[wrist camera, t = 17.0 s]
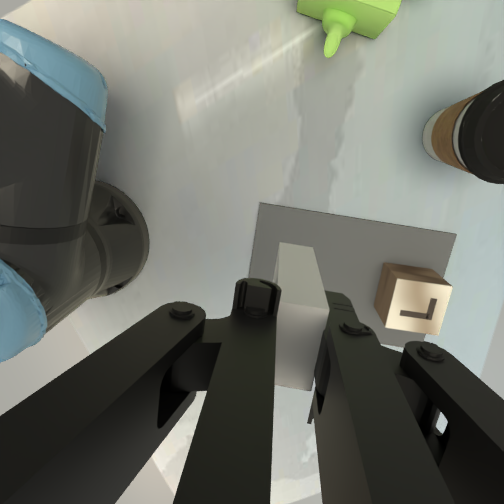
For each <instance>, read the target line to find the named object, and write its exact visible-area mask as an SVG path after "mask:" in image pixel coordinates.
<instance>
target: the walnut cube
mask: <svg viewBox="0 0 504 504" xmlns="http://www.w3.org/2000/svg"><path fill="white" fill-rule="evenodd" d="M452 288H453V286H451V285H450V284H449V283H448V282H447V281H446V280H444V279H443V278H442V277H441V276H440V275H439V274H438V273H436V272H435V271H434V270H433V269H428V268H421V267H414V266H407V265H400V264H393V263H386V262H384V264H383V268H382V272H381V276H380V281H379V285H378V289H377V293H376V298H375V302H374V308H375V310H376V311H377V313H378V315H379V317H380V319H381V321H382V323H383V324H384V326H385V328H391V329H398V330H405V331H411V332H418V333H425V334H431V335H439V332H440V328H441V325H442V322H443V318H444V315H445V311H446V308H447V305H448V301H449V298H450V295H451V291H452Z"/></svg>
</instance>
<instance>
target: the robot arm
mask: <svg viewBox="0 0 504 504" xmlns="http://www.w3.org/2000/svg"><path fill="white" fill-rule="evenodd" d="M107 98H108V87H107V83H106V81H105V79H104V77H103V76H102V74H101V73H100V72H99V71H98V70H97V69H96V68H95V67H94V66H93V65H91V64H90V63H89V62H87V61H86V60H84V59H82V58H81V57H79V56H77V55H76V54H74V53H72V52H70V51H68V50H67V49H65V48H63V47H61V46H59V45H57V44H55V43H53V42H51V41H49V40H47V39H45V38H43V37H41V36H39V35H37V34H35V33H33V32H31V31H29V30H27V29H25V28H23V27H21V26H18V25H16V24H14V23H12V22H9V21H7V20H4V19H0V362H3V361H6V360H8V359H10V358H12V357H14V356H16V355H17V354H18V353H20V352H21V351H23V350H24V349H26V348H27V347H30V346H33V345H35V344H36V343H38V342H39V341H40V340H41V338H43V335H44V334H45V333H47V332H48V331H49V330H51V329H52V328H53V327H54V326H55V325H57V324H58V323H59V322H60V321H62V320H63V319H64V318H65V317H67V316H68V315H69V314H70V313H72V312H73V311H74V310H75V309H77V308H78V307H79V306H80V305H81V304H83V303H84V302H85V301H86V300H87V299H92V298H97V297H103V296H107V295H110V294H113V293H116V292H117V291H119V290H121V289H123V288H124V287H126V286H127V285H128V284H129V283H130V282H131V281H133V280H134V279H135V278H136V277H137V276H138V274H139V273H140V272H141V270H142V269H143V267H144V265H145V262H146V260H147V256H148V252H149V235H148V230H147V226H146V223H145V221H144V218H143V216H142V214H141V213H140V211H139V209H138V208H137V206H136V205H135V204H134V203H133V202H132V200H131V199H130V198H129V197H127V196H126V195H125V194H124V193H123V192H121V191H120V190H118V189H117V188H115V187H113V186H111V185H109V184H106V183H104V182H100V181H96V180H95V177H96V171H97V166H98V160H99V154H100V148H101V142H102V137H103V133H105V132H106V125H105V123H104V122H105V114H106V106H107ZM205 318H206V314H205V311H204V310H203V309H202V308H201V307H199V306H197V305H194V304H190V303H187V302H180V301H179V302H173V303H167V304H165V305H163V306H161V307H159V308H158V309H156V310H155V311H153V312H152V313H150V314H149V315H147V316H146V317H144V318H143V319H142V320H140V321H139V322H137V323H136V324H134V325H133V326H131V327H130V328H128V329H127V330H125V331H124V332H123V333H121V334H120V335H118V336H117V337H115V338H114V339H112V340H111V341H109V342H108V343H106V344H105V345H103V346H102V347H101V348H99V349H98V350H96V351H95V352H93V353H92V354H90V355H89V356H87V357H86V358H85V359H83V360H82V361H80V362H79V363H77V364H76V365H74V366H73V367H71V368H70V369H68V370H67V371H65V372H64V373H62V374H61V375H60V376H58V377H57V378H55V379H54V380H52V381H51V382H49V383H48V384H46V385H45V386H44V387H42V388H40V389H39V390H38V391H36V392H35V393H33V394H32V395H30V396H29V397H27V398H26V399H25V400H23V401H22V402H20V403H19V404H17V405H16V406H14V407H13V408H11V409H10V410H8V411H7V412H5V413H4V414H2V415H1V416H0V504H115V503H116V501H117V500H118V499H119V497H120V496H121V495H122V494H123V492H124V491H125V490H126V488H127V487H128V486H129V485H130V483H131V482H132V481H133V479H134V478H135V477H136V475H137V474H138V472H139V471H140V470H141V469H142V467H143V466H144V465H145V464H146V462H147V461H148V460H149V458H150V457H151V456H152V454H153V453H154V452H155V451H156V449H157V448H158V447H159V445H160V444H161V443H162V441H163V440H164V439H165V437H166V436H167V435H168V434H169V432H170V431H171V430H172V428H173V427H174V426H175V424H176V423H177V422H178V420H179V419H180V418H181V417H182V415H183V414H184V413H185V411H186V410H187V409H188V407H189V406H190V405H191V403H192V402H193V401H194V399H195V396H196V392H197V391H207V393H206V397H205V400H204V403H203V406H202V410H201V413H200V416H199V419H198V423H197V426H196V429H195V432H194V436H193V439H192V442H191V446H190V449H189V452H188V455H187V459H186V462H185V465H184V468H183V472H182V475H181V478H180V482H179V485H178V488H177V491H176V495H175V498H174V501H173V504H270V491H271V464H272V437H273V411H274V385H278V386H284V387H289V388H295V389H301V390H306V391H311V390H312V385H313V381H314V376H315V384H316V387H315V391H314V396H313V400H312V404H311V409H310V413H309V417H308V422H307V423H308V424H311V422H312V419H313V418H314V424H315V434H316V444H317V453H318V463H319V473H320V483H321V493H322V502H323V504H504V400H503V399H502V398H501V397H500V396H499V395H497V394H496V393H495V392H494V391H493V390H492V389H491V388H489V387H488V386H487V385H486V384H485V383H484V382H482V381H481V380H480V379H479V378H478V377H477V376H476V375H475V374H473V373H472V372H471V371H470V370H469V369H468V368H467V367H465V366H464V365H463V364H462V363H461V362H460V361H458V360H457V359H456V358H455V357H454V356H453V355H451V354H450V353H449V352H447V351H446V350H444V349H442V348H440V347H438V346H437V345H436V344H433V343H431V344H430V342H426V341H423V342H421V341H409V342H407V343H406V344H405V346H404V350H403V353H401V352H398V351H395V350H392V349H389V348H387V347H384V346H381V344H380V342H379V340H378V338H377V336H376V334H375V332H374V331H373V330H372V329H371V328H370V327H369V326H367V325H365V324H363V323H361V322H359V319H358V317H357V315H356V313H355V310H354V307H353V305H352V303H351V300H350V299H349V298H348V297H346V296H345V295H344V294H343V293H338V292H332V291H326V290H324V287H323V284H322V280H321V276H320V272H319V269H318V265H317V261H316V257H315V254H314V250H313V247H307V246H301V245H295V244H288V243H282V242H280V243H279V249H278V255H277V261H276V266H275V272H274V278H273V282H270V281H268V280H263V279H258V278H244V279H241V280H238V281H237V282H236V287H235V293H234V300H233V307H232V312H231V315H230V316H228V317H225V318H221V319H205ZM440 412H442V413H443V414H444V416H445V417H446V419H447V421H448V423H447V426H446V429H445V431H444V433H443V434H442V433H441V432H440V431H439V430H438V429H437V428H436V427H435V426H436V423H437V420H438V418H439V415H440Z"/></svg>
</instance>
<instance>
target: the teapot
mask: <svg viewBox="0 0 504 504" xmlns="http://www.w3.org/2000/svg"><path fill="white" fill-rule="evenodd" d="M401 1H402V0H298V3H297V12H299V13H301V14H304V15H307V16H310V17H313V18H316V19H318V20H321V21H322V26H323V29H324V31H325V32H326V34H327V37H326V41H325V45H324V55H325V57H327V58H330V57H332V56H333V55H334V53H335V52H336V50H337V49H338V46H339V44H340V41H341V39H342V38H345V37H347V36H348V35H349V34H350V32H351V31H353V32H355V33H358V34H361V35H364V36H367V37H369V38H372V39H376V38H377V37H378V36H379V34H380V33H381V32H382V31H383V30H384V29H385V28H386V27H387V25H388V24H389V23H390V22H391V21H392V20H393V19H394V17H395V16H396V14H397V11H398V9H399V6H400V4H401Z"/></svg>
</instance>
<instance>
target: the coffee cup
mask: <svg viewBox="0 0 504 504" xmlns="http://www.w3.org/2000/svg"><path fill="white" fill-rule="evenodd" d="M422 140H423V145H424V148H425V150H426V152H427V153H428V154H429V155H430V156H431V157H432V158H434V159H436V160H438V161H441V162H444V163H446V164H449V165H451V166H454V167H456V168H459V169H461V170H464V171H466V172H469V173H471V174H474V175H475V176H477V177H478V178H479V179H482V180H484V181H487V182H490V183H495V184H504V80H502V81H500V82H498V83H495V84H493V85H492V86H490V87H489V88H487V89H485V90H484V91H482V92H480V93H478V94H475V95H473V96H471V97H469V98H467V99H465V100H462V101H460V102H458V103H456V104H454V105H452V106H450V107H447V108H445V109H442V110H440V111H439V112H437V113H435V114H434V115H433V116H432V117H431V118H430V119H429V121H428V122H427V124H426V126H425V128H424V131H423V137H422Z"/></svg>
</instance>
